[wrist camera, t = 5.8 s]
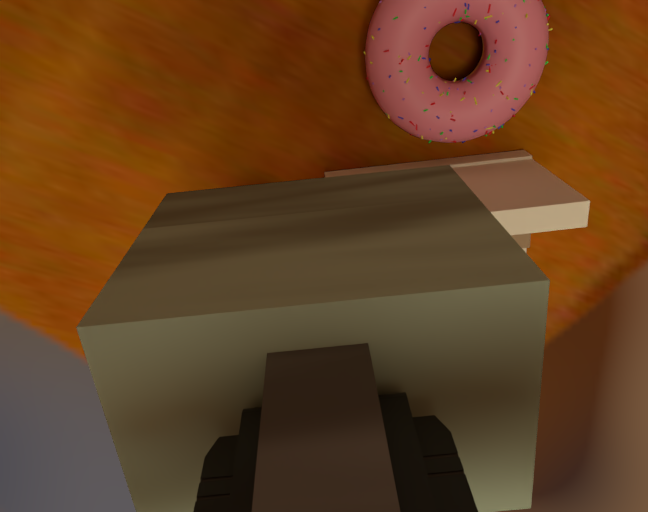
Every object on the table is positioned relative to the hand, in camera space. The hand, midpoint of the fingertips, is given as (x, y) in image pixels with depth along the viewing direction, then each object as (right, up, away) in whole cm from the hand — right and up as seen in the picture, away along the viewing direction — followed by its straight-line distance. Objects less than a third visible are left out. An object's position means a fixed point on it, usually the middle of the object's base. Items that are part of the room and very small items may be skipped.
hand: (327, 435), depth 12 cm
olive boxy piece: (0, +3, +7) cm, 8 cm away
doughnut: (+8, +17, +24) cm, 30 cm away
